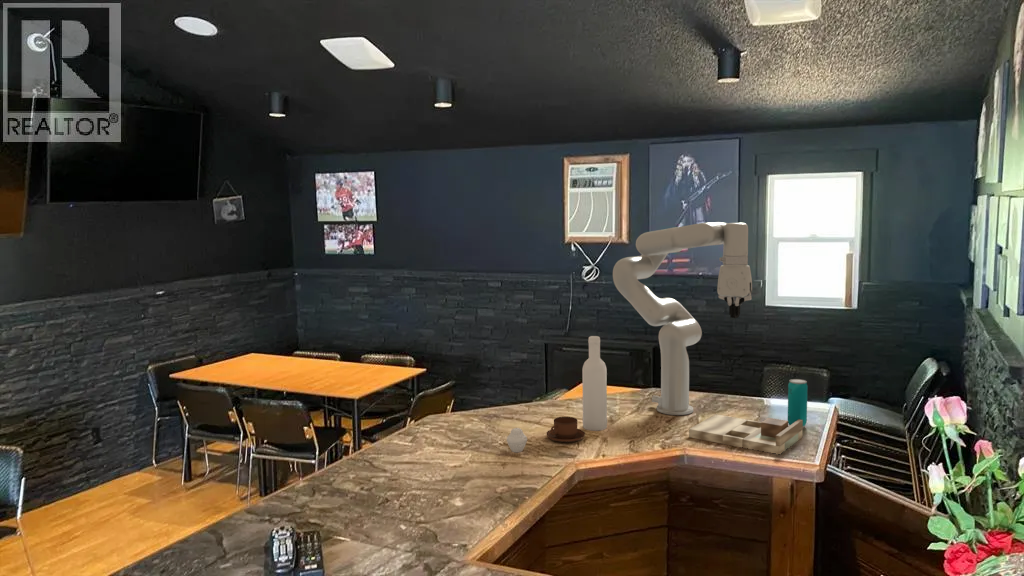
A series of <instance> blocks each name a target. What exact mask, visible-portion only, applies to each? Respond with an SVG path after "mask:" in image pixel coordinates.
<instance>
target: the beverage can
mask: <svg viewBox="0 0 1024 576" xmlns="http://www.w3.org/2000/svg"><path fill="white" fill-rule="evenodd" d="M807 383H808V381H807V380H806V379H800V378H793V379H789V382H788V385H787V389H788V390H787V421H788V427H789V426H790V425H791V424H793V423H794V422H796V421H797V420H798V419H800V420H803V429H804V428H805V427H806V424H807V421H808V420H807V419H808V390H809V389H808V387H809V386H808V384H807Z"/></svg>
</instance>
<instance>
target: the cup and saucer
mask: <svg viewBox="0 0 1024 576" xmlns="http://www.w3.org/2000/svg"><path fill="white" fill-rule="evenodd" d="M546 436H547V438H549V439H550V440H552V441H554V442H557V443H559V442H560V443H573V442H577V441H580V440H582V439H583V438H584V437H585V436H586V433H585V431H584V430H582V429H580V428H578V419H577V418H576V417H573V416H559V417H555V418H554V419H553V425H552V426H551V427H550V429H549V430H547V432H546Z"/></svg>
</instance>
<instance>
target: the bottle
mask: <svg viewBox="0 0 1024 576" xmlns="http://www.w3.org/2000/svg"><path fill="white" fill-rule="evenodd" d="M587 341H588V342H587V343H588V359H586V360H585V361H584V363H583V365H582V374H581V375H582V428H583V429H584V430H586V431H594V432H599V431H604V430H606V429H607V427H608V415H607V414H608V413H607V412H608V410H607V409H608V398H607V397H608V395H607V394H608V392H607V391H608V390H607V386H608V385H607V383H608V382H607V375H608V373H607V370H608V369H607V365H606V363H605V362H604V360H603V359H602V358H601V337H600V336H598V335H590V336H589V337H588V340H587Z"/></svg>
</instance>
